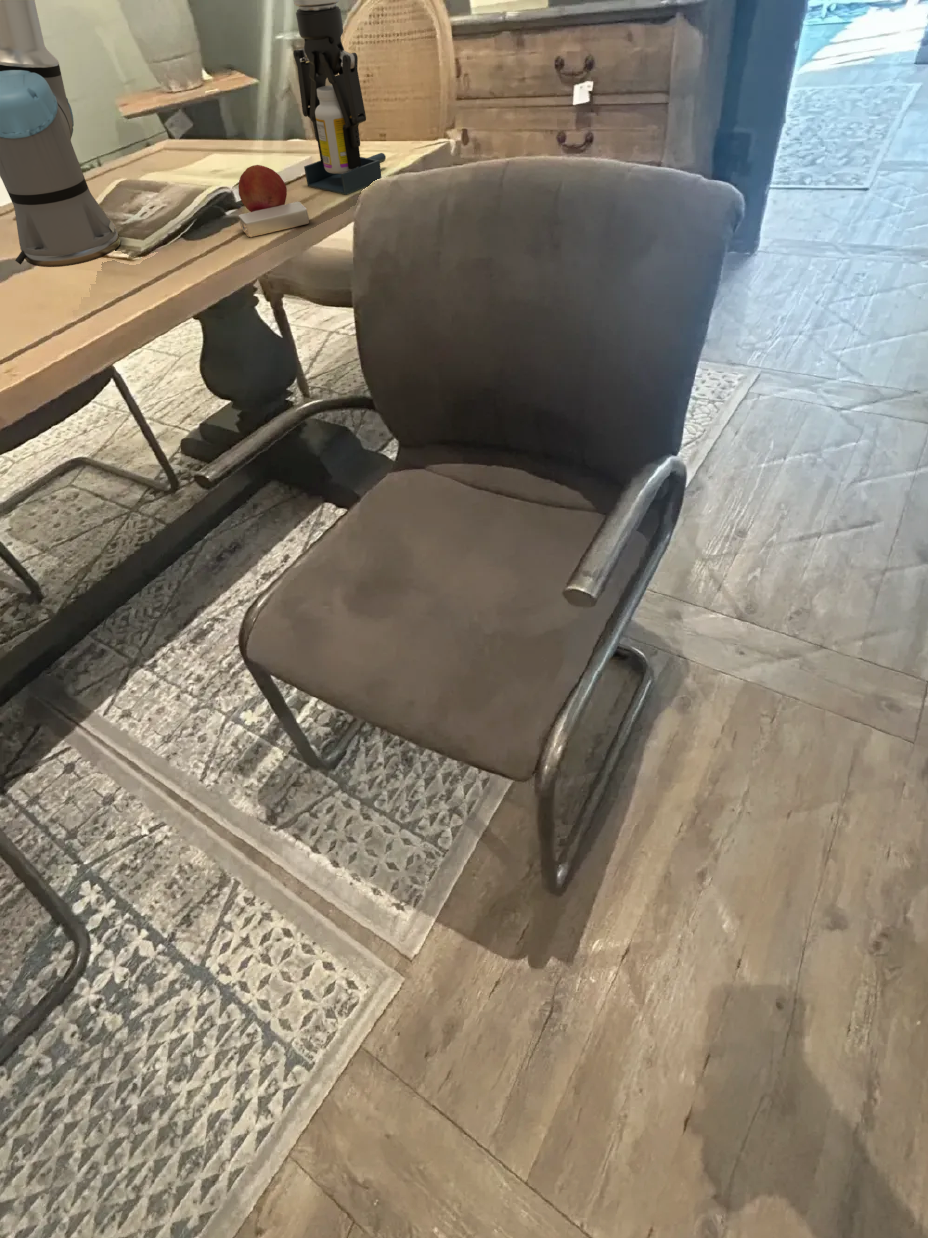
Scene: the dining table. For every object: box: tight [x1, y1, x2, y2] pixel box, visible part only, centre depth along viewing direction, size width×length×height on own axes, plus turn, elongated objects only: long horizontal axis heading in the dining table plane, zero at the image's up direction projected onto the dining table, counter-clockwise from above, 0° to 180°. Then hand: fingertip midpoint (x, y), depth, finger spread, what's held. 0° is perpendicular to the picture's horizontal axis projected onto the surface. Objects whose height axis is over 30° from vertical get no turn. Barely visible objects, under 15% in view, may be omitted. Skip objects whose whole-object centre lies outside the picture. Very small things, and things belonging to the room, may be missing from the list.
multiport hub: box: [238, 201, 310, 238], centre depth 122 cm, size 4×11×2 cm, turn 118°
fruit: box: [238, 164, 288, 212], centre depth 124 cm, size 8×8×10 cm
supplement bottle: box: [315, 84, 358, 174], centre depth 132 cm, size 7×7×13 cm
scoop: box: [303, 152, 387, 196], centre depth 139 cm, size 17×10×3 cm, turn 142°
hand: (341, 163), depth 136 cm, fingers closed on supplement bottle, 7 cm apart
